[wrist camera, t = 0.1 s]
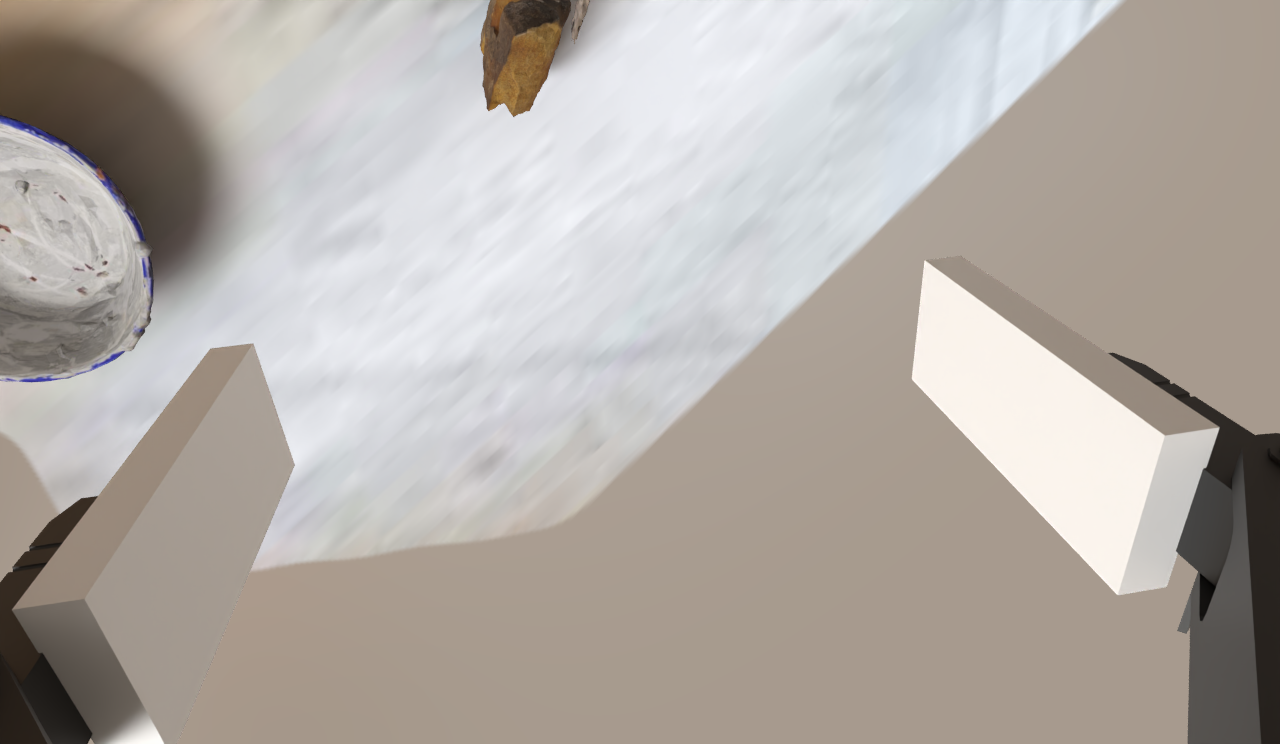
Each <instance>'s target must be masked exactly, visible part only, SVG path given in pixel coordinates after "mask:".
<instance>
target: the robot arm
mask: <svg viewBox="0 0 1280 744" xmlns="http://www.w3.org/2000/svg"><path fill="white" fill-rule="evenodd" d="M912 380H913V381H914V382H915V383H916V384H917V385H918V386H919V387H920V388H921V389H922V390H923V391H924V393H925V394H926V395H927V396H928V397H929V398H930V399H931V400H932V401H933V402H934V403H935V404H936V405H937V406H938V407H939V408H940V409H941V410H942V411H943V412H944V413H945V415H947V417H948V418H949V419H950V420H951V421H952V422H953V423H954V424H955V425H956V426H957V427H958V428H959V429H960V430H961V431H962V432H963V433H964V434H965V435H966V437H967V438H968V439H969V440H970V441H971V442H972V443H973V444H974V445H975V446H976V447H977V448H978V449H979V450H980V451H981V452H982V453H983V454H984V455H985V456H986V458H987V459H988V460H989V461H990V462H991V463H992V464H993V465H994V466H995V467H996V468H997V469H998V470H999V471H1000V472H1001V473H1002V474H1003V475H1004V476H1005V477H1006V479H1008V481H1009V482H1010V483H1011V484H1012V485H1013V486H1014V487H1015V488H1016V489H1017V490H1018V491H1019V492H1020V493H1021V494H1022V495H1023V496H1024V497H1025V498H1026V499H1027V501H1028V502H1029V503H1030V504H1031V505H1032V506H1033V507H1034V508H1035V509H1036V510H1037V511H1038V512H1039V513H1040V514H1041V515H1042V516H1043V517H1044V518H1045V519H1046V520H1047V522H1048V523H1049V524H1050V525H1051V526H1052V527H1053V528H1054V529H1055V530H1056V531H1057V532H1058V533H1059V534H1060V535H1061V536H1062V537H1063V538H1064V539H1065V540H1066V541H1067V542H1068V544H1069V545H1070V546H1071V547H1072V548H1073V549H1074V550H1075V551H1076V552H1077V553H1078V554H1079V555H1080V556H1081V557H1082V558H1083V559H1084V560H1085V561H1086V562H1087V563H1088V565H1090V567H1092V569H1094V571H1095V572H1096V573H1097V574H1098V575H1099V576H1100V577H1101V578H1102V579H1103V580H1104V581H1105V582H1106V583H1107V584H1108V585H1109V586H1110V587H1111V588H1112V590H1113V591H1114V592H1115V593H1116V594H1117V595H1122V594H1127V593H1134V592H1140V591H1145V590H1151V589H1157V588H1163V587H1167V584H1168V581H1169V578H1170V575H1171V572H1172V569H1173V566H1174V563H1175V560H1176V557H1177V554H1179V555H1180V556H1182V557H1183V558H1184V559H1185V560H1186V561H1187V562H1188V563H1189V564H1191V565H1192V566H1193V567H1194V568H1195V569H1196V570H1197V571H1198V574H1197V577H1196V579H1195V582H1194V585H1193V588H1192V591H1191V594H1190V597H1189V600H1188V602H1187V605H1186V608H1185V611H1184V613H1183V616H1182V619H1181V622H1180V625H1179V627H1178V631H1180V632H1183V633H1187V631H1188V630H1189V628H1190V665H1189V708H1188V709H1189V711H1188V744H1280V434H1279V433H1274V434H1260V435H1254V434H1252V433H1251V432H1249V431H1248V430H1246V429H1245V428H1243V427H1241V426H1240V425H1238V424H1237V423H1235V422H1233V421H1232V420H1231V419H1229V418H1227V417H1226V416H1224V415H1223V414H1221V413H1220V412H1218V411H1217V410H1215V409H1213V408H1212V407H1210V406H1209V405H1207V404H1206V403H1204V402H1203V401H1201V400H1199V399H1198V398H1196V397H1190V395H1189V393H1188V392H1187V391H1185V390H1184V389H1182V388H1181V387H1179V386H1178V385H1176V384H1170V380H1168V379H1167V378H1165V377H1164V376H1162V375H1160V374H1159V373H1157V372H1156V371H1154V370H1153V369H1151V368H1149V367H1148V366H1146V365H1144V364H1142V363H1139V362H1136V361H1133V360H1131V359H1128V358H1125V357H1123V356H1120V355H1118V354H1115V353H1106V352H1105V351H1104V350H1102V349H1100V348H1099V347H1098V346H1096V345H1095V344H1093V343H1092V342H1090V341H1089V340H1087V339H1086V338H1084V337H1082V336H1081V335H1079V334H1078V333H1076V332H1075V331H1073V330H1072V329H1070V328H1069V327H1067V326H1066V325H1064V324H1063V323H1061V322H1060V321H1058V320H1057V319H1055V318H1054V317H1052V316H1051V315H1049V314H1048V313H1046V312H1045V311H1043V310H1042V309H1040V308H1038V307H1037V306H1036V305H1034V304H1033V303H1031V302H1030V301H1028V300H1026V299H1025V298H1024V297H1022V296H1021V295H1019V294H1018V293H1016V292H1014V291H1013V290H1012V289H1010V288H1009V287H1007V286H1005V285H1004V284H1002V283H1001V282H999V281H998V280H996V279H995V278H993V277H992V276H990V275H989V274H987V273H986V272H984V271H983V270H981V269H980V268H978V267H977V266H975V265H974V264H972V263H971V262H969V261H968V260H966V259H965V258H963V257H962V256H955V257H947V258H939V259H931V260H925V262H924V271H923V281H922V291H921V300H920V309H919V319H918V327H917V336H916V346H915V355H914V364H913V374H912ZM294 466H295V464H294V461H293V458H292V456H291V453H290V450H289V447H288V444H287V441H286V438H285V435H284V432H283V429H282V426H281V423H280V420H279V418H278V415H277V412H276V409H275V406H274V403H273V400H272V397H271V394H270V391H269V388H268V385H267V382H266V380H265V377H264V374H263V371H262V368H261V365H260V362H259V359H258V356H257V353H256V350H255V347H254V344H245V345H237V346H229V347H221V348H213V349H210V350H209V351H208V353H207V354H206V355H205V357H204V358H203V359H202V361H201V362H200V363H199V364H198V366H197V367H196V368H195V370H194V371H193V372H192V374H191V375H190V376H189V378H188V379H187V380H186V382H185V383H184V384H183V386H182V387H181V388H180V389H179V391H178V392H177V393H176V395H175V396H174V397H173V399H172V400H171V401H170V403H169V404H168V405H167V407H166V408H165V409H164V410H163V412H162V413H161V414H160V416H159V417H158V418H157V420H156V421H155V422H154V424H153V425H152V426H151V428H150V429H149V430H148V431H147V433H146V434H145V435H144V437H143V438H142V439H141V441H140V442H139V443H138V445H137V446H136V447H135V449H134V450H133V451H132V453H131V454H130V455H129V456H128V458H127V459H126V460H125V462H124V463H123V464H122V466H121V467H120V468H119V470H118V471H117V472H116V474H115V475H114V476H113V477H112V479H111V480H110V481H109V483H108V484H107V485H106V487H105V488H104V489H103V491H102V492H101V493H100V495H99V496H96V497H88V498H81V499H80V500H79V501H77V502H76V503H74V504H73V505H72V506H70V507H69V508H68V509H66V510H65V511H64V512H62V513H61V514H60V515H58V516H57V517H55V518H54V519H53V520H51V521H50V522H49V523H48V524H47V526H46V527H45V528H44V529H43V530H42V532H41V533H40V534H39V535H38V537H37V538H36V539H35V540H34V542H33V543H32V544H31V545H30V547H29V548H30V551H27V552H25V553H24V554H23V555H22V556H21V558H20V559H19V560H18V561H17V562H16V564H15V565H14V566H13V572H9V573H8V574H7V575H6V576H5V577H4V578H3V580H2V581H1V582H0V744H88V741H89V740H90V738H91V739H92V740H93V742H94V743H95V744H177V743H178V741H179V738H180V736H181V734H182V731H183V729H184V727H185V724H186V722H187V719H188V717H189V715H190V712H191V710H192V707H193V705H194V703H195V701H196V698H197V696H198V693H199V691H200V689H201V686H202V684H203V681H204V679H205V677H206V674H207V672H208V670H209V667H210V665H211V663H212V660H213V658H214V655H215V653H216V651H217V648H218V646H219V644H220V641H221V639H222V636H223V634H224V632H225V629H226V627H227V625H228V622H229V620H230V618H231V615H232V613H233V610H234V608H235V606H236V603H237V601H238V598H239V596H240V594H241V591H242V589H243V587H244V584H245V582H246V580H247V577H248V575H249V572H250V570H251V568H252V565H253V563H254V561H255V558H256V556H257V553H258V551H259V549H260V546H261V544H262V542H263V539H264V537H265V534H266V532H267V530H268V527H269V525H270V523H271V520H272V518H273V515H274V513H275V511H276V508H277V506H278V504H279V501H280V499H281V496H282V494H283V492H284V489H285V487H286V485H287V482H288V480H289V477H290V475H291V473H292V470H293V468H294Z"/></svg>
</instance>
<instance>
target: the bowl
mask: <svg viewBox="0 0 1280 744" xmlns="http://www.w3.org/2000/svg"><path fill="white" fill-rule="evenodd" d="M152 249H153V248H152V247H151V246H150V245H149V244H148V243H146V240H145V237H144V233H143V229H142V226H141V223H140V222H139V220H138V219H137V217H136V214H135V212H134V210H133V208H132V207H131V206H130V204H129V203H128V201H127V200H126V198H125V197H124V195H123V194H122V192H121V191H120V189H119V188H118V187H117V186H116V184H115V183H114V182H113V181H112V180H111V179H110V177H109V176H108V175H107V174H106V173H105V172H104V171H103V170H102V169H101V168H100V167H98V166H97V165H96V164H95V163H94V162H93V161H92V160H90V159H89V158H88V157H87V156H86V155H84V154H82V153H81V152H80V151H78V150H77V149H75V148H74V147H73V146H71V145H70V144H68V143H66V142H64V141H62V140H60V139H58V138H56V137H54V136H52V135H50V134H48V133H47V132H45V131H43V130H41V129H38V128H36V127H34V126H31V125H29V124H26V123H24V122H21V121H18V120H15V119H12V118H8V117H5V116H2V115H0V381H19V382H44V381H52V380H58V379H67V378H71V377H73V376H76V375H79V374H82V373H85V372H89V371H92V370H94V369H96V368H98V367H101V366H103V365H105V364H107V363H109V362H111V361H113V360H115V359H116V358H118V357H119V356H120V355H122V354H123V353H124V352H125V351H131V350H133V349H134V347H135V345H136V344H137V342H138V340H139V339H140V338H141V336H142V335H143V334H144V333H145V328H146V327H147V326H148V325H149V323H150V321H151V318H150V313H151V307H152V303H153V284H154V280H153V270H152V263H151V258H150V253H151V251H152Z"/></svg>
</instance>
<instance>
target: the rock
mask: <svg viewBox="0 0 1280 744" xmlns="http://www.w3.org/2000/svg"><path fill="white" fill-rule="evenodd" d="M589 2H590V0H577V3H576V7H575V15H574V18H573V19H572V39H574V44H575V39H577V36H578V32H579V29H580V27H581V24H582V22H583V19H584V17H585V15H586V12H587V7H588V4H589ZM570 6H571V2H570V0H490V3H489V6H488V11H487V17H486V20H485V22H484V25H483V29H482V32H481V44H480V46H481V51H482V53H483V55H484V56H483V69H484V80H483V87H484V91H485V98H486V100H487V109H488V111H490V110H492V109H494V108H496V107H497V106H498V105H499V104H502V103H505V104H506V106H507V107H508V109H509V112H510V113H511V114H512V115H513V117H514V116H516V115H518V114H521V113H523V112H525V111H530V108H531V107H532V105H533V101H534V100H535V98H536V96H537V93H538V92H539V91H540V89H541V87H542V85H543V83H544V82H545V81H546V79H547V76H548V72H549V69H550V65H551V63H552V60H553V57H554V54H555V50H556V49H557V47H558V44H559V40H560V38H561V31H562V28H563V26H564V23H565V21H566V20H567V18H568V15H569V13H570Z"/></svg>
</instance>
